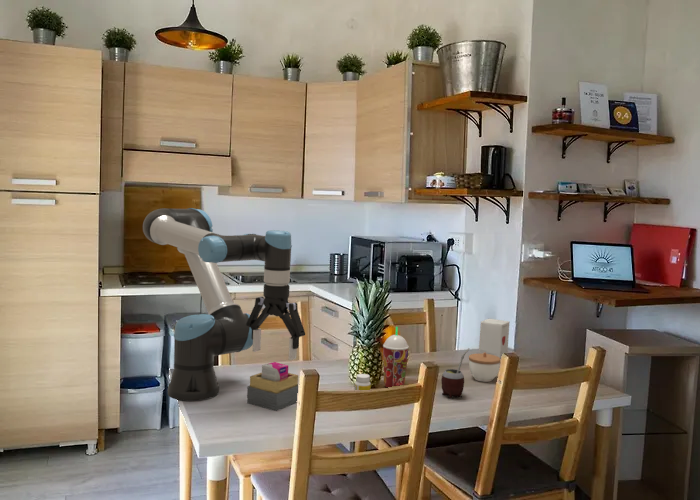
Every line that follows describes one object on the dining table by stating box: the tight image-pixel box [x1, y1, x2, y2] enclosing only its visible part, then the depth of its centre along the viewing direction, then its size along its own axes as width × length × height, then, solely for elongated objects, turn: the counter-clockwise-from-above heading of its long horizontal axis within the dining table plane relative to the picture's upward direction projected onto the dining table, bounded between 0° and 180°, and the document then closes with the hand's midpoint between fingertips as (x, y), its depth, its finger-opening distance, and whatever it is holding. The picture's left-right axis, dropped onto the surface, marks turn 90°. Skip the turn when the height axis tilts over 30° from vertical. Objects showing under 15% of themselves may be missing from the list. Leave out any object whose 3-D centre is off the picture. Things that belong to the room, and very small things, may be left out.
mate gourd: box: [440, 347, 470, 400], centre depth 198 cm, size 8×8×15 cm
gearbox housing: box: [246, 372, 299, 412], centre depth 186 cm, size 11×11×8 cm
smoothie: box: [382, 326, 410, 388], centre depth 205 cm, size 8×8×20 cm
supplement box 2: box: [478, 318, 510, 359], centre depth 246 cm, size 9×9×15 cm
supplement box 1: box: [261, 361, 289, 381], centre depth 186 cm, size 6×6×12 cm
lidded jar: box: [468, 352, 501, 383], centre depth 218 cm, size 11×11×9 cm
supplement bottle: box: [354, 373, 372, 391], centre depth 189 cm, size 5×5×8 cm
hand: (274, 355), depth 186 cm, fingers open, 13 cm apart
